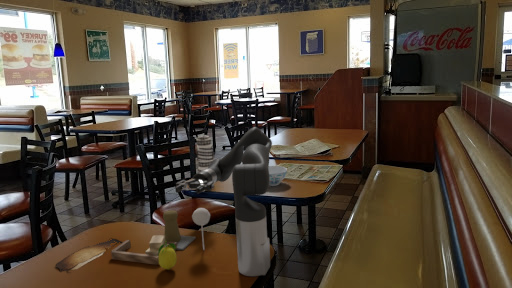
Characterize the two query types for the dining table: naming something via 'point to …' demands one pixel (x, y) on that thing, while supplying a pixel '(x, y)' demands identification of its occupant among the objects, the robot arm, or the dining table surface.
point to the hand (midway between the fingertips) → (186, 190)
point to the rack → (135, 254)
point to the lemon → (167, 256)
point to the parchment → (84, 256)
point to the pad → (184, 242)
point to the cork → (171, 226)
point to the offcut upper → (157, 242)
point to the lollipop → (201, 219)
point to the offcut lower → (153, 251)
